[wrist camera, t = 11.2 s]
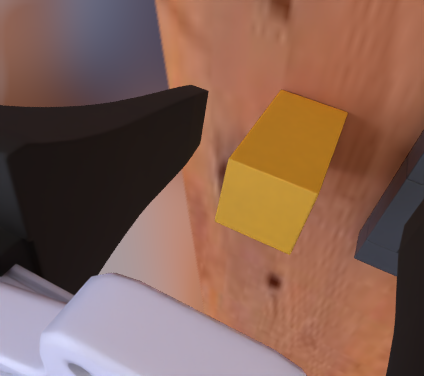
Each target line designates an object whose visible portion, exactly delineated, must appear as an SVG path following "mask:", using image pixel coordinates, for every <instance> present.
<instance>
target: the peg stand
mask: <svg viewBox="0 0 424 376" xmlns="http://www.w3.org/2000/svg"><path fill="white" fill-rule="evenodd" d="M423 199H424V130H423V132H422V134H421V135H420V137H419V138H418V140H417V142H416V143H415V145H414V146H413V148H412V150H411V151H410V153H409V155H408V156H407V157H406V159H405V161H404V162H403V164H402V165H401V167H400V169H399V170H398V172H397V173H396V175H395V176H394V178H393V180H392V181H391V183H390V184H389V186H388V188H387V189H386V191H385V192H384V194H383V196H382V197H381V199H380V200H379V202H378V204H377V205H376V207H375V208H374V210H373V212H372V213H371V215H370V216H369V218H368V220H367V221H366V223H365V224H364V226H363V227H362V229H361V231H360V232H359V236H358V241H357V246H356V251H355V256H354V258H355V259H357V260H360V261H362V262H364V263H367V264H369V265H371V266H373V267H376V268H378V269H380V270H383V271H385V272H387V273H390V274H392V275H394V276H397V268H398V253H399V247H400V242H401V238H402V234H403V229H404V225H405V224H406V222H407V221H408V220H409V218H410V217H411V215H412V214H413V213H414V211H415V210H416V209H417V207H418V206H419V205H420V203H421V202H422V200H423Z"/></svg>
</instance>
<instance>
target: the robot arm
mask: <svg viewBox="0 0 424 376" xmlns="http://www.w3.org/2000/svg"><path fill="white" fill-rule="evenodd" d="M207 98H208V91H207V90H204V89H202V88H199V87H196V86H193V85H187V86H182V87H177V88H173V89H169V90H165V91H161V92H157V93H153V94H149V95H145V96H141V97H136V98H130V99H126V100H121V101H116V102H110V103H103V104H95V105H86V106H70V107H18V106H17V107H16V106H3V105H0V376H307V375H306V374H305V372H304V371H303V370H302V368H300V367H299V366H297V365H296V364H294V363H293V362H292V361H290V360H289V359H287V358H286V357H284V356H283V355H281V354H280V353H279V352H277V351H276V350H274V349H272V348H270V347H268V346H266V345H265V344H263V343H261V342H259V341H257V340H255V339H253V338H251V337H249V336H247V335H245V334H243V333H241V332H239V331H237V330H235V329H233V328H231V327H229V326H227V325H225V324H223V323H221V322H220V321H218V320H216V319H214V318H212V317H210V316H208V315H206V314H204V313H202V312H200V311H198V310H196V309H194V308H192V307H190V306H188V305H186V304H184V303H182V302H180V301H178V300H176V299H175V298H173V297H170V296H169V295H167V294H164V293H163V292H161V291H159V290H157V289H155V288H153V287H151V286H149V285H147V284H145V283H143V282H141V281H139V280H136V279H133V278H129V277H126V276H123V275H120V274H117V273H107V274H102V275H98V274H99V272H100V271H101V269H102V268H103V266H104V265H105V263H106V261H107V260H108V259H109V257H110V256H111V254H112V253H113V251H114V250H115V248H116V247H117V246H118V244H119V243H120V241H121V240H122V238H123V237H124V236H125V234H126V233H127V231H128V230H129V229H130V227H131V226H132V225H133V223H134V222H135V221H136V219H137V218H138V217H139V215H140V214H141V213H142V211H143V210H144V209H145V208H146V207H147V206H148V205H149V203H150V202H151V201H152V200H153V199H154V198H155V197H156V196H157V195H158V194H159V193H160V192H161V191H162V190H163V189H164V188H165V187H166V185H167V184H168V183H169V182H170V181H171V180H172V179H173V178H174V177H175V176H176V174H178V172H179V171H180V170H181V169H182V168H183V167H184V166H185V165H186V164H187V162H188V161H189V159H190V158H191V157H192V155H193V154H194V152H195V151H196V149H197V148H198V146H199V144H200V142H201V135H202V129H203V123H204V116H205V110H206V104H207ZM386 376H424V199H423V200H422V202H421V203H420V205H419V206H418V207H417V209H416V210H415V211H414V213H413V214H412V215H411V217H410V218H409V220H408V221H407V222H406V224H405V225H404V229H403V234H402V238H401V242H400V247H399V253H398V268H397V290H396V313H395V326H394V335H393V340H392V346H391V352H390V358H389V363H388V368H387V373H386Z"/></svg>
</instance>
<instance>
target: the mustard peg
mask: <svg viewBox="0 0 424 376" xmlns="http://www.w3.org/2000/svg"><path fill="white" fill-rule="evenodd" d="M347 115H348V112H345V111H342V110H339V109H336V108H333V107H331V106H328V105H325V104H322V103H319V102H316V101H313V100H310V99H307V98H304V97H302V96H299V95H296V94H293V93H290V92H287V91H284V90H280V92H279V93H278V94H277V96H276V97H275V98H274V100H273V101H272V102H271V104H270V105H269V106H268V108H267V109H266V110H265V112H264V113H263V114H262V115H261V117H260V118H259V119H258V121H257V122H256V123H255V125H254V126H253V127H252V129H251V130H250V131H249V133H248V134H247V135H246V137H245V138H244V139H243V141H242V142H241V143H240V145H239V146H238V147H237V149H236V150H235V151H234V153H233V154H232V155H231V156H230V158H229V160H228V164H227V169H226V173H225V177H224V182H223V186H222V190H221V195H220V199H219V203H218V208H217V212H216V217H215V222H217V223H219V224H222V225H224V226H226V227H228V228H230V229H233V230H235V231H237V232H239V233H242V234H244V235H246V236H248V237H251V238H253V239H255V240H257V241H260V242H262V243H264V244H266V245H269V246H271V247H273V248H275V249H278V250H280V251H282V252H284V253H287V254H289V255H290V254H291V252H292V250H293V248H294V246H295V244H296V241H297V239H298V237H299V235H300V233H301V231H302V229H303V227H304V224H305V222H306V220H307V218H308V216H309V214H310V212H311V210H312V207H313V205H314V203H315V201H316V199H317V197H318V195H319V192H320V189H321V186H322V184H323V181H324V178H325V175H326V173H327V170H328V167H329V164H330V162H331V159H332V156H333V153H334V151H335V148H336V145H337V142H338V140H339V137H340V134H341V131H342V129H343V126H344V123H345V120H346V118H347Z"/></svg>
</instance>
